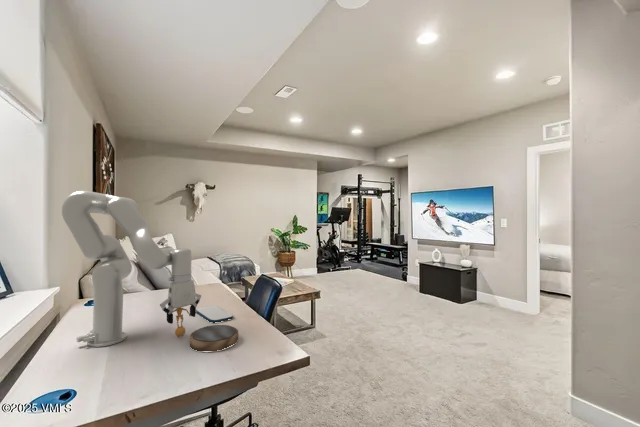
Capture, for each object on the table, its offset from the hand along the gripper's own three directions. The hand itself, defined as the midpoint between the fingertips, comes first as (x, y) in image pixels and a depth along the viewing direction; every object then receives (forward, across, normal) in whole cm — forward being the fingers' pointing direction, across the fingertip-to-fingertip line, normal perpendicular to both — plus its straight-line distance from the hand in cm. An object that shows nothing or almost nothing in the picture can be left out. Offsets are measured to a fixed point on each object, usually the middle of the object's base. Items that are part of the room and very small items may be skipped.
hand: (181, 319), depth 123 cm
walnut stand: (+7, +4, -16) cm, 18 cm away
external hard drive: (+8, +23, +12) cm, 27 cm away
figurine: (+7, -1, +1) cm, 7 cm away
